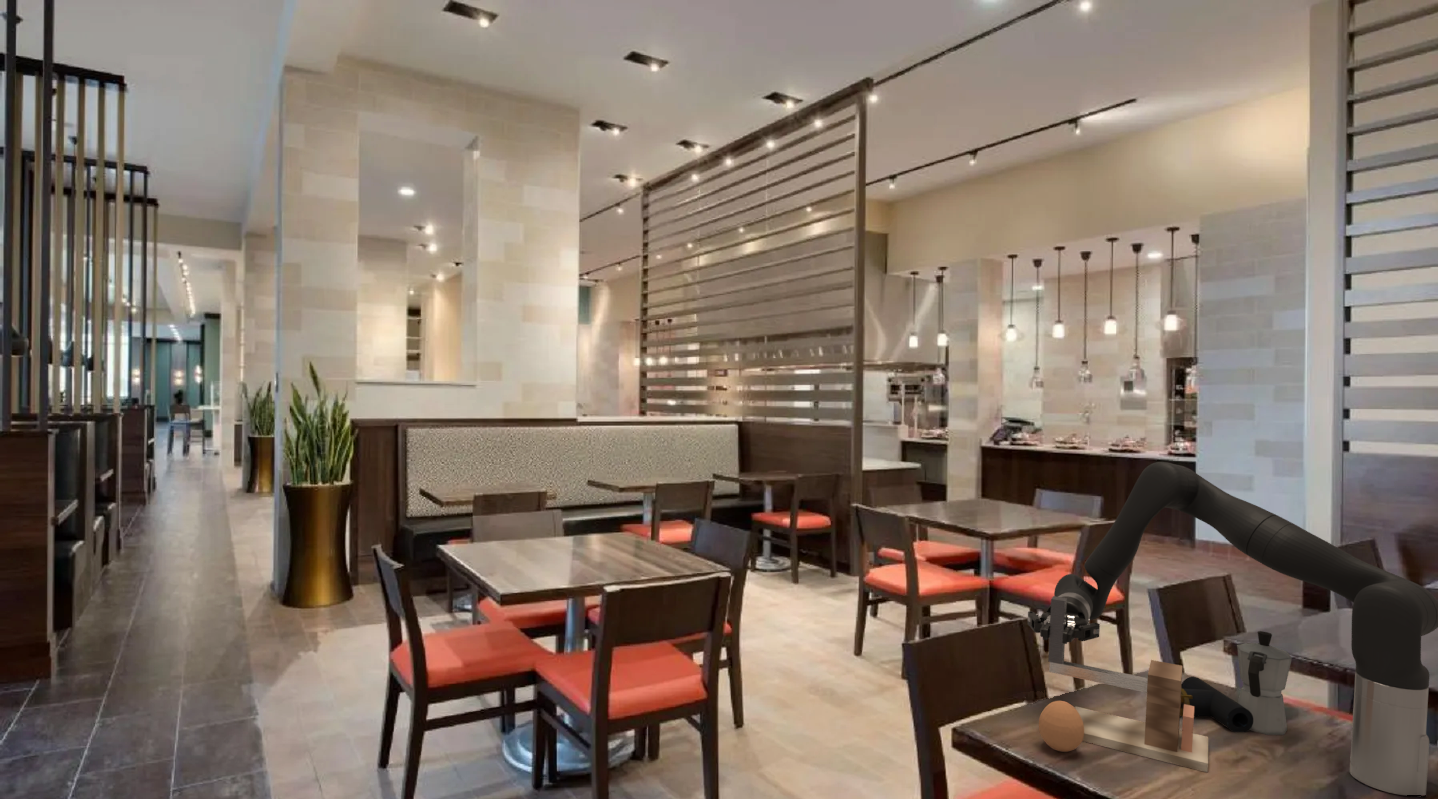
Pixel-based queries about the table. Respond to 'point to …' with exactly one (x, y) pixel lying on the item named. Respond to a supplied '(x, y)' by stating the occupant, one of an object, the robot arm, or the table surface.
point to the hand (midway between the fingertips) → (1055, 636)
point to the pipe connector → (1214, 705)
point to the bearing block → (1150, 724)
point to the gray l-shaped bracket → (1079, 670)
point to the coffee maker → (1264, 684)
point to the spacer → (1187, 728)
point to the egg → (1061, 726)
